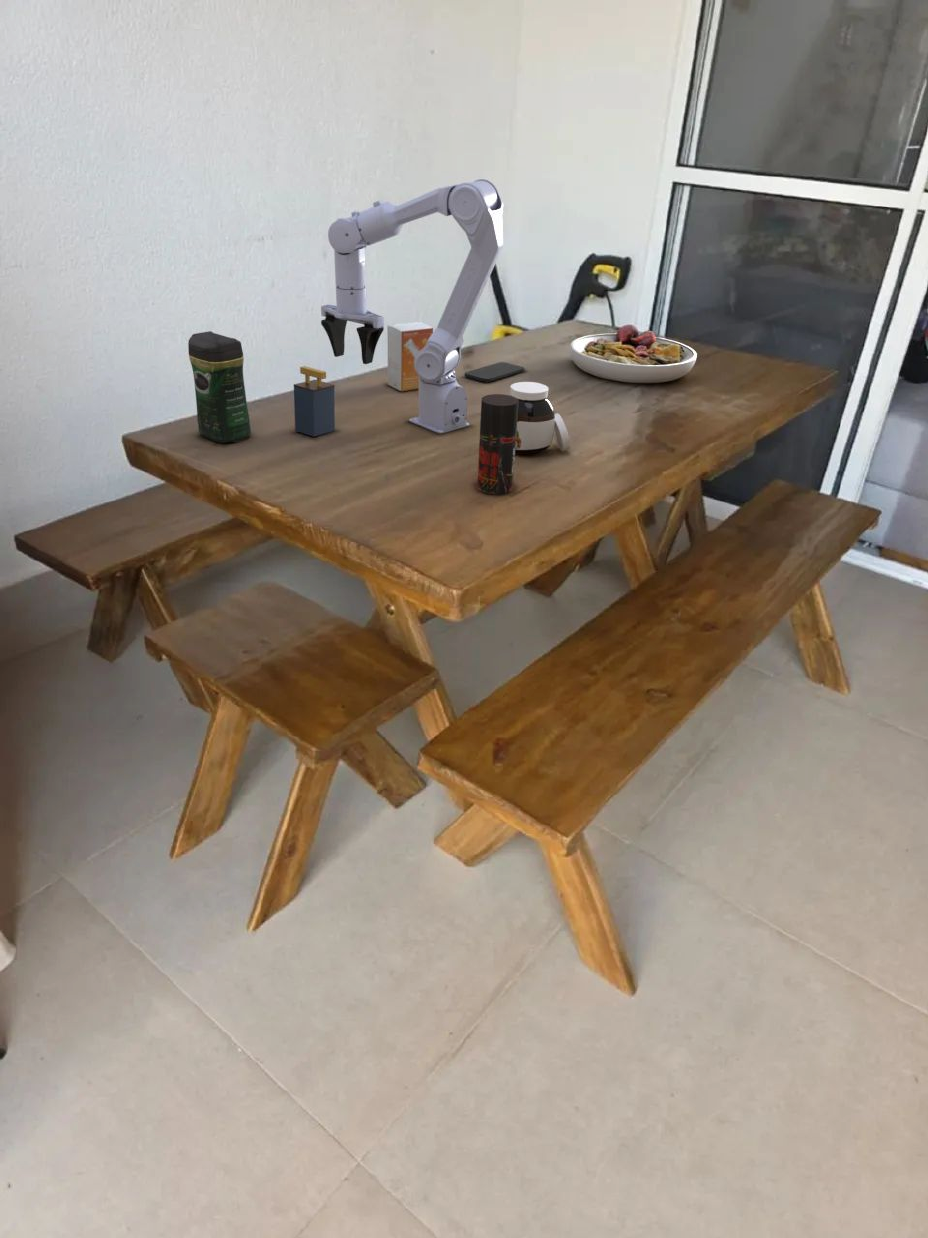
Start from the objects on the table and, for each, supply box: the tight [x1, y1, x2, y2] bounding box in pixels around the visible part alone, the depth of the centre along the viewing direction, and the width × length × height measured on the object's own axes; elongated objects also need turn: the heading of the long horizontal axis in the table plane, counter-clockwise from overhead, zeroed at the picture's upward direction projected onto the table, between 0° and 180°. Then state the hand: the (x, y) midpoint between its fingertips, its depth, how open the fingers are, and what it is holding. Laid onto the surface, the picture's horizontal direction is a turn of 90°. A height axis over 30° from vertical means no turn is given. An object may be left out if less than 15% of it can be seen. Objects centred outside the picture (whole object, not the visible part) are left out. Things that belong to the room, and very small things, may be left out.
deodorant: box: [476, 393, 519, 496], centre depth 139 cm, size 6×6×15 cm
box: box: [293, 365, 336, 437], centre depth 160 cm, size 12×6×6 cm
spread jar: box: [509, 381, 571, 457], centre depth 156 cm, size 12×11×12 cm
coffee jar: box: [187, 330, 252, 444], centre depth 154 cm, size 10×8×19 cm
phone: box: [464, 361, 525, 383], centre depth 200 cm, size 7×1×15 cm
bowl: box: [569, 324, 698, 384], centre depth 206 cm, size 30×30×8 cm
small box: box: [386, 321, 434, 392], centre depth 187 cm, size 8×6×13 cm
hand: (353, 359), depth 169 cm, fingers open, 7 cm apart
